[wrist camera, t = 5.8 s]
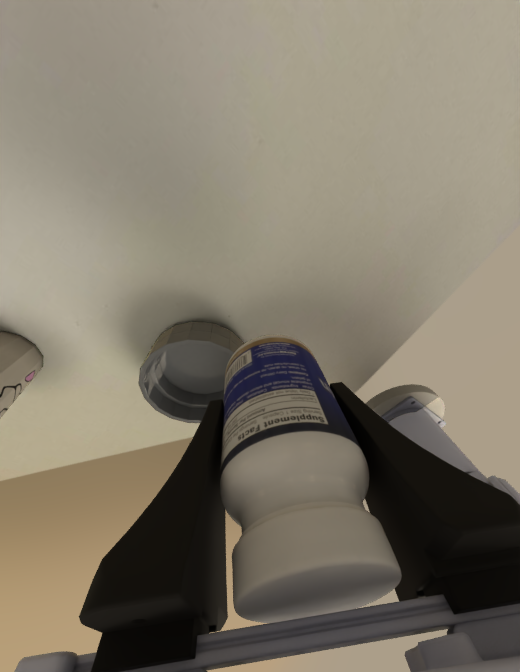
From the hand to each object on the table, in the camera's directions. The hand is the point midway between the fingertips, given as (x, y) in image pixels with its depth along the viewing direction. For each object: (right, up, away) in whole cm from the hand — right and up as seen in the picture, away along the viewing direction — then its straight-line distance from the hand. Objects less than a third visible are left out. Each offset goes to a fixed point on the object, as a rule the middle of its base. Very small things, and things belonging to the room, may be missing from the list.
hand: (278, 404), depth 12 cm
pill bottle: (0, +2, +3) cm, 3 cm away
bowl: (-7, +1, +10) cm, 12 cm away
